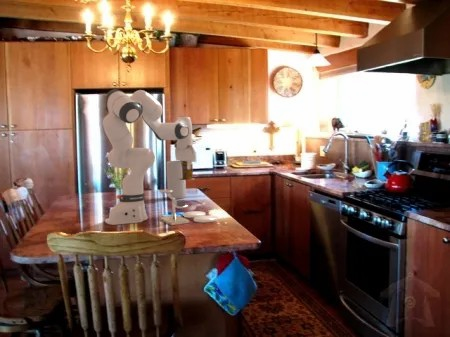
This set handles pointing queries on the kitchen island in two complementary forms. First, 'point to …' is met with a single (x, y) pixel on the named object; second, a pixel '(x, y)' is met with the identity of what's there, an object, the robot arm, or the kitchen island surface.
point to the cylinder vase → (175, 180)
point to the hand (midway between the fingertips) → (185, 168)
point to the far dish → (193, 214)
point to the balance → (174, 219)
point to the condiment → (187, 171)
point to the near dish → (205, 219)
